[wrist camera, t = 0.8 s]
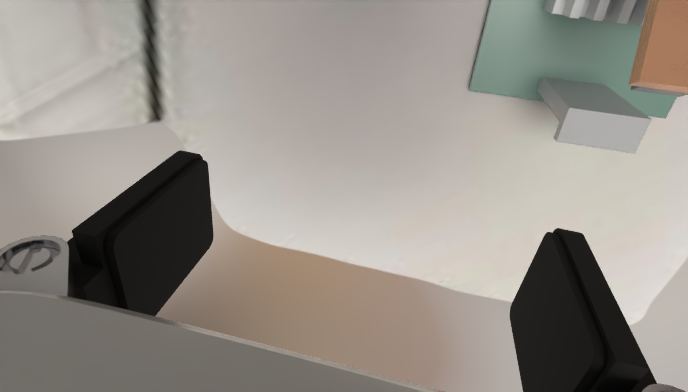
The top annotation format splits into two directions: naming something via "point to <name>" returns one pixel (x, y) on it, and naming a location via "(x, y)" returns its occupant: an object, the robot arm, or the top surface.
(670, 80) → the lever
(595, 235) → the top surface
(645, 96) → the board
